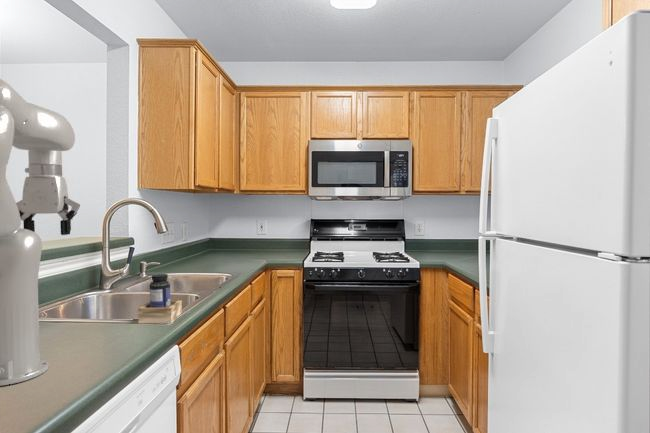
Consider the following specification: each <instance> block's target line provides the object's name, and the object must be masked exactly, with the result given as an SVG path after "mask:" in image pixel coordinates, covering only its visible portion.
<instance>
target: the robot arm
mask: <svg viewBox="0 0 650 433" xmlns="http://www.w3.org/2000/svg"><path fill="white" fill-rule="evenodd" d="M75 140H76V135H75V131H74V128H73V126H72V125H71V123H70V122H69V120H68V119H67V118H66V117H65V116H64V115H62V114H60V113H59V112H56V111H54V110H51V109H47V108H45V107H41V106H39V105H37V104H35V103H30V102H28V101H26V100H25V99H24V98H23V97H22V96H21V95H20V94H19V93H18V92H17V91H16V90H15V89H14V88H13V86H11V85H10V84H9V83H8V82H6V81H5V80H3V79H1V78H0V387H2V386H9V384H10V385H13V384H14V385H15V384H19V383H21V382H25V381H28V380H30V379H33V378H36V377H38V376H40V375H42V374H43V373H45V372H46V371H47V370H48V369H49V361H48V360H47V359H44V358H41V356H40V355H41V354H40V350H41V349H40V320H39V319H40V316H39V314H40V313H39V312H40V311H39V310H40V309H39V272H40V271H39V270H40V264H41V257H42V252H43V243H42V239H41V237H40V235H39V234H38V233H36V231H35V228H36V227H35V225H36V224H35V220H34V219H33V218H34V217H35V216H36V215H37V214H39V215H40V214H42V215H44V214H50V215H51V214H57V215H58V216H59V217H60V218H61V220H60V225H59V226H60V235H61V236H66V235H67V236H68V235H70V234H71V230H72V223H71V222H72V220H73V219H74V217H75V216H76V215H77V214H78V211H79V209H80V206H81V204H80V203H78V202H76V201H74V200H72V199H70V198H69V191H68V187H67V186H68V184H67V181H66V178H65V177H63V158H62V157H63V156H62V155H63V153H62V152H67V151H70V150H71V149H72V148H73V147H74V145H75V142H76V141H75ZM13 147H14V148H15V149H17V150H21V151H22V150H23V151H28V155H27V156H28V167H24V168H25V169H24V172H25V173H26V174H28V176H25V179H24V183H23V189H22V198H21V200H19V201H17V202H16V200H15V197H14V195H13V192H12V190H11V188H10V186H9V183H8V179H7V176H6V174H7V173H6V172H7V167H8V164H9V160H10V157H11V152H12V149H13ZM69 206H70V207H71V208H70V207H69ZM69 208H70V210H69ZM21 221H23V228H21V224H22V223H21Z"/></svg>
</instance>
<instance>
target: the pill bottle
mask: <svg viewBox="0 0 650 433" xmlns="http://www.w3.org/2000/svg"><path fill="white" fill-rule="evenodd" d="M168 276H169V275H168V273H155V274H152V275H151V280H152V282H150V284H149V302H150V308H166V307H170V306H171V301H172V300H171V283H170V281H168V278H169V277H168Z"/></svg>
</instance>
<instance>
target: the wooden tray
mask: <svg viewBox="0 0 650 433" xmlns="http://www.w3.org/2000/svg"><path fill="white" fill-rule="evenodd" d="M182 302H183V300H171V306H170V307H166V308H150V301H149V302H147V303H145V304H144V305H142V306H140V307H139V308H138V309H137V314H138V315H137V316H138V318H137V319H138V322H137V323H138V324H172V323H173V322H174V321H176V318H177V317H178V316H179V315H180V314H181V313H183V312H182V311H183V307H182V306H183V305H182ZM181 315H182V314H181ZM181 315H180V316H181ZM180 316H179V317H180ZM179 317H178V318H179ZM178 318H177V319H178ZM167 322H169V323H167Z"/></svg>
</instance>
